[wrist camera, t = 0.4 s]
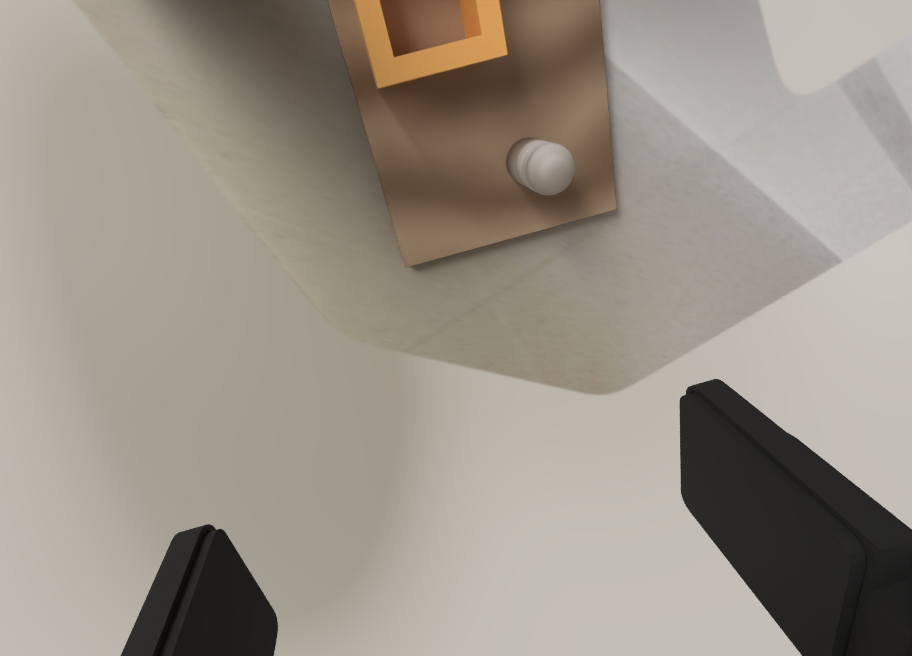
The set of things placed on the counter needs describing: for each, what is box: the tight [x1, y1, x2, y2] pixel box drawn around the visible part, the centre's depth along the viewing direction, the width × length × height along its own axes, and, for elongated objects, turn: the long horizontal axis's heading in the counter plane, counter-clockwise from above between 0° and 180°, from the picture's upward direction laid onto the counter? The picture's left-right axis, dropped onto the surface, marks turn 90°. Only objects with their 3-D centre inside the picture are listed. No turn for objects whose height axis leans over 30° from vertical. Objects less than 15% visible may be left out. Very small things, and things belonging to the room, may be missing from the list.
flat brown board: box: [327, 0, 616, 267], centre depth 29 cm, size 22×16×8 cm
